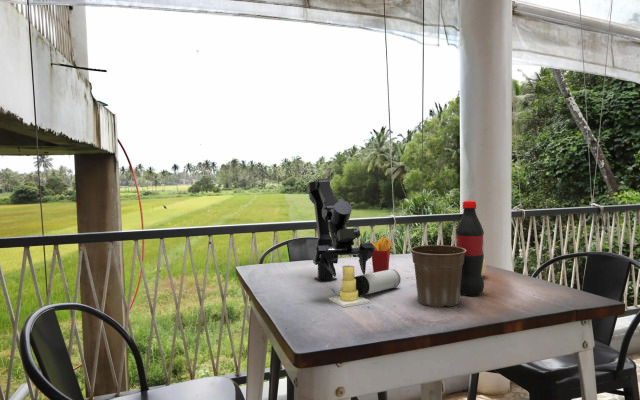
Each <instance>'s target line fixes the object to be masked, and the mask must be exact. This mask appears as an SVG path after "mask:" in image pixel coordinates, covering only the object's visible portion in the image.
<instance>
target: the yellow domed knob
mask: <svg viewBox="0 0 640 400" xmlns="http://www.w3.org/2000/svg"><path fill="white" fill-rule="evenodd" d="M355 277H356V276H355V266H354V265H342V278H341V289H340V290H339V296H340V300H342V301H356V300H358V290H356V279H355Z"/></svg>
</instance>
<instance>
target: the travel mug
mask: <svg viewBox="0 0 640 400" xmlns="http://www.w3.org/2000/svg"><path fill="white" fill-rule="evenodd" d="M354 277H355V279H356V290H358V296H361V297H363V296H366V295H371V294H374V293H378V292H383V291H386V290H390V289H393V288H394V289H395V288H397V287H399V285H400V284H401V275H400V273H399V271H397V270H396V269H391V268H389V270H385V271H380V272H375V273H373V272H371V273H370V272H369V273H365V275H363V274H360V275H357V276H354Z"/></svg>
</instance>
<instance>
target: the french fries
mask: <svg viewBox="0 0 640 400" xmlns="http://www.w3.org/2000/svg"><path fill="white" fill-rule="evenodd" d="M370 243H372V244H373V245H374V248H375V249H374V251H373V254H372V256H371V263H372V270H373V272H372V273H375V272H380V271H385V270H390V258H391V255H390V254H391V247H392V246H393V245H394V243H393V242H392V241H391V240H389V238H387V237H384V236H381V238H379V239H378V240H377V241H374V242H372V241H371V242H370Z"/></svg>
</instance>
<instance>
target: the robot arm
mask: <svg viewBox="0 0 640 400" xmlns="http://www.w3.org/2000/svg"><path fill="white" fill-rule="evenodd" d="M332 189H333V188H332V187H331V181H330V179H329V178H317V179H315V180H313V181H310V182H309V183H308V184H307V185H306V193H307V195H308V198H309V200H310V202H312V204H313V205H314V213H315V214H314V215H315V222H316V231H317V241H316V244H315V247H314V251H313V254H312V255H313V256H312V263H313V264H314V265H315V266H317V276H315V277H314V279H315V280H316V281H317V280H318V281H320V282H321V283H322V282H331V281H336V280H337V278H336V276H337V273H336V269H335V266H334V265H335V264H338V262H339V256H352V255H353V256H354V255H357V257H358V258H359V259H358V263H359V266H360V270H361V274H362V275H365V274H366V269H367V268H366V266H367V261H369V260H370V259H372V254H373V251H374V249H375V248H374V245H373V244H372V243H373V242H372V243H371V242H360V244H359V246H358V247H353V246H354V244H355V242H354V240H356V239H359V238H360V237H361V231H360V228H359V226H356V227H355V226H353V227H350V228H347V225H348V224H349V221H350V217H351V215H352V209H353V206H352V205H351V204H350V203H349V202H348V201H345V200H344V198H343V199H342V198H341V199H340V198H339V199H337V198H336V197H335V194H334V192H333V190H332Z"/></svg>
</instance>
